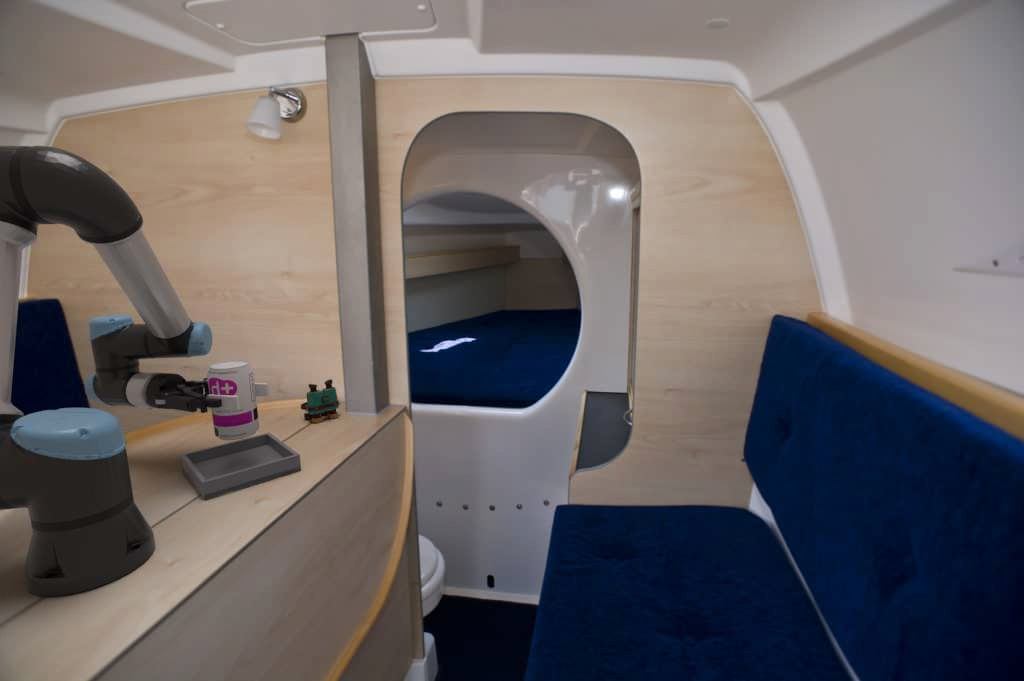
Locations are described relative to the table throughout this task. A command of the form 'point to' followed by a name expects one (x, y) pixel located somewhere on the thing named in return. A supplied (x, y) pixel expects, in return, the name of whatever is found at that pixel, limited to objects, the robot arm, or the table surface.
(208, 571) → the table surface
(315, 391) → the binoculars
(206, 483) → the tray
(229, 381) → the supplement can
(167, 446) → the table surface
